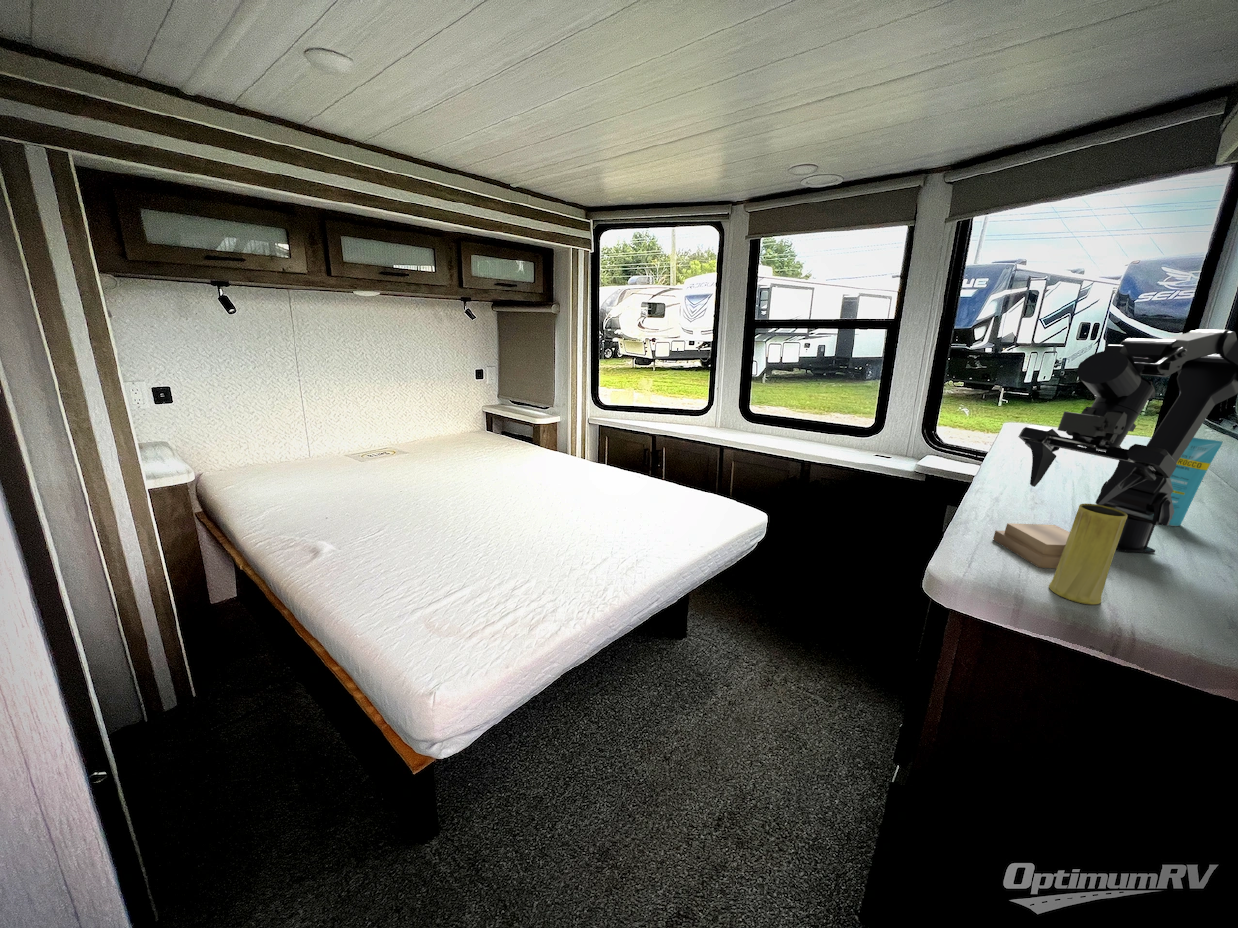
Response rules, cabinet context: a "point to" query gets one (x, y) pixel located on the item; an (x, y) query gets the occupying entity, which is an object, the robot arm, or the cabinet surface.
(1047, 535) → the pedestal
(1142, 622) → the cabinet surface
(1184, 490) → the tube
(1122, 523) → the vase
